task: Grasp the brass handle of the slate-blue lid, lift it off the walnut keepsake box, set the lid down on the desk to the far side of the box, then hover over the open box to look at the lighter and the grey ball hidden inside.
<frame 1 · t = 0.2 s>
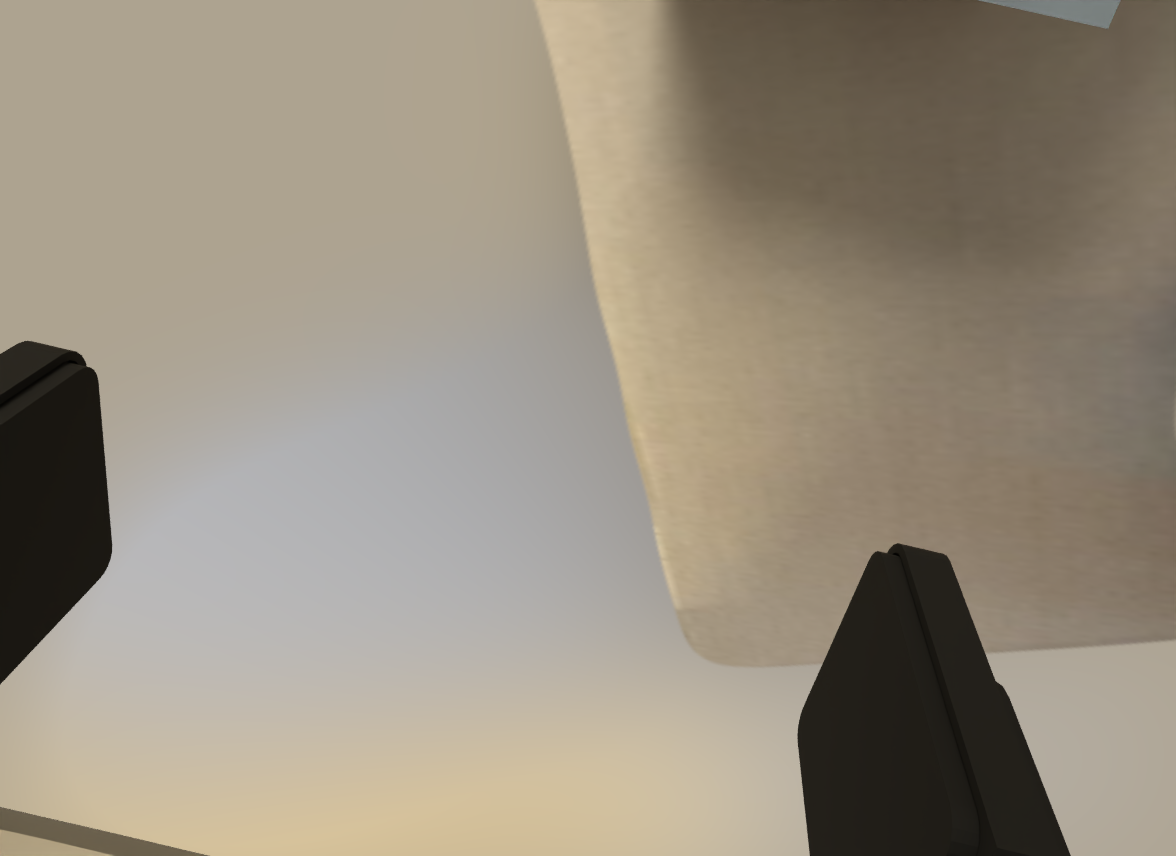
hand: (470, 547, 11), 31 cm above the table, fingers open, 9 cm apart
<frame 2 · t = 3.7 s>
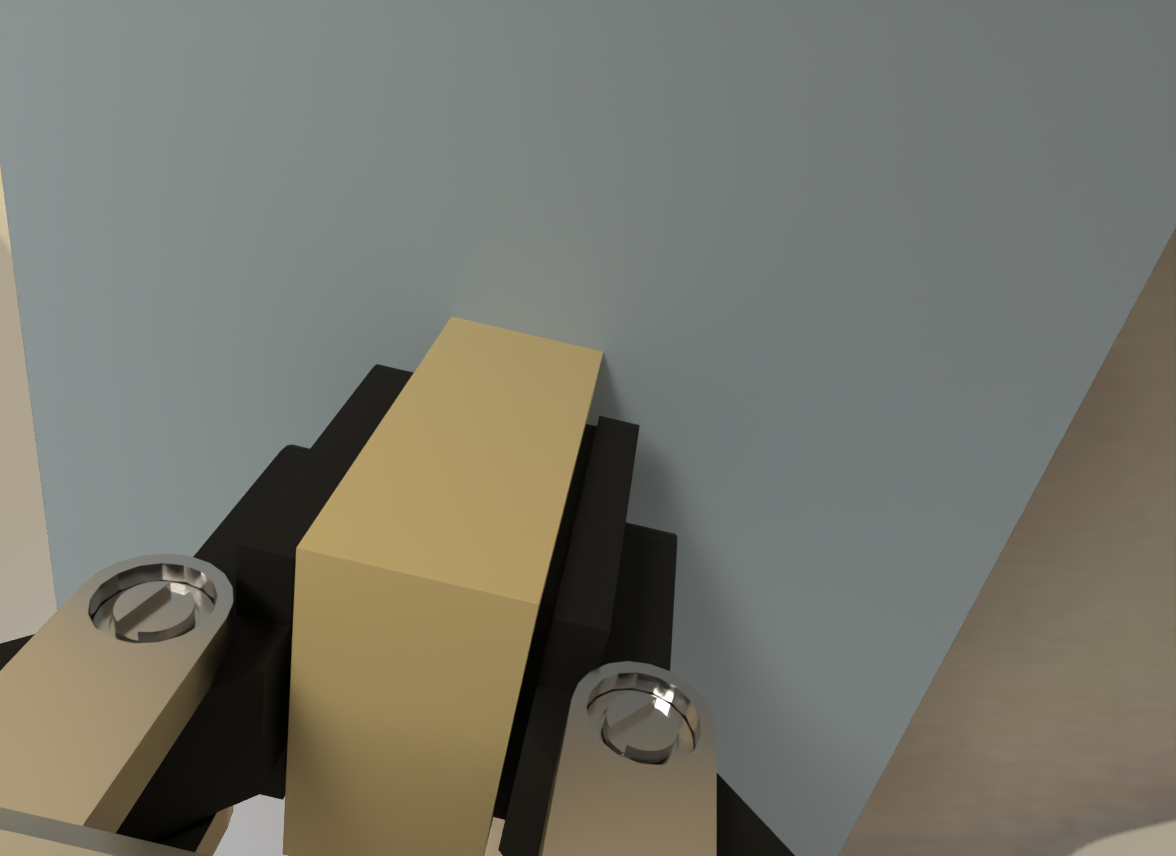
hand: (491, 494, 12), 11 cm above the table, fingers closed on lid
lid: (517, 428, 13), point 10 cm above the table, touching gripper
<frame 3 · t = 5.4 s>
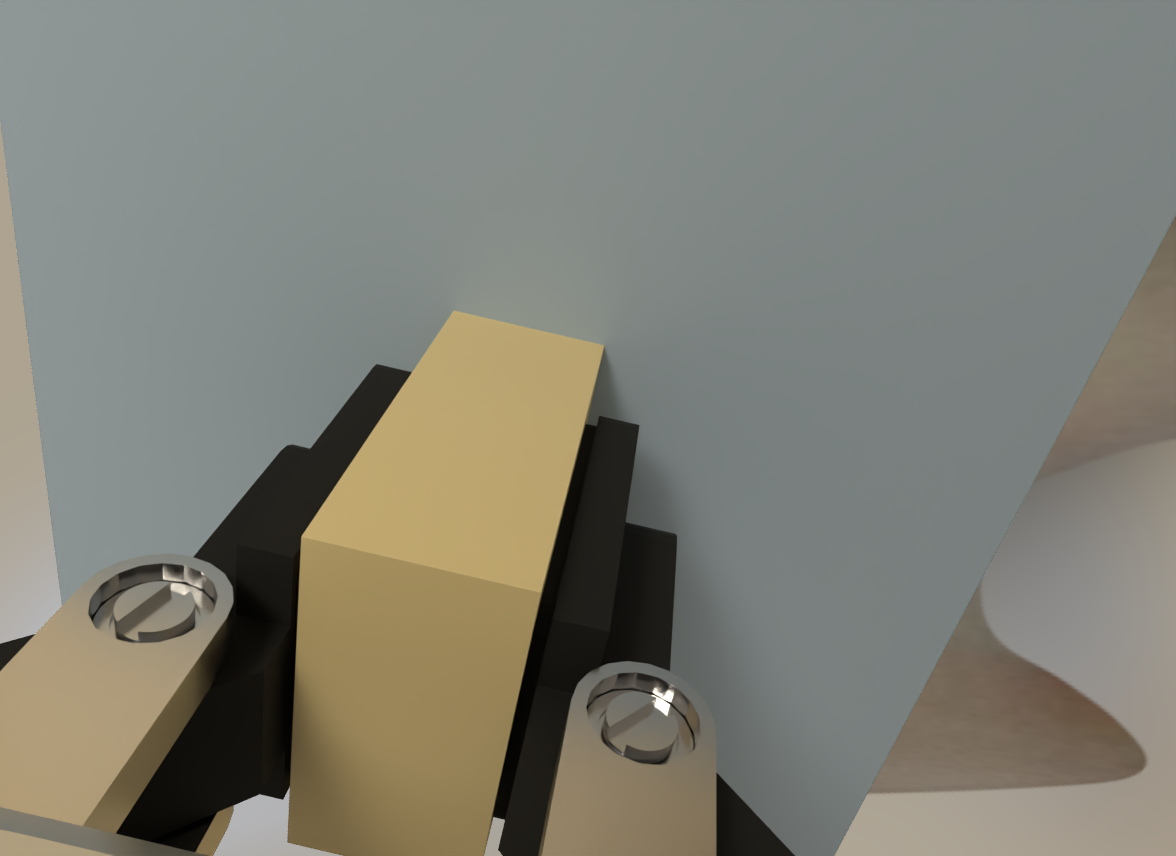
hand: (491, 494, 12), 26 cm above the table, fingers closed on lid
lid: (519, 422, 14), point 24 cm above the table, touching gripper
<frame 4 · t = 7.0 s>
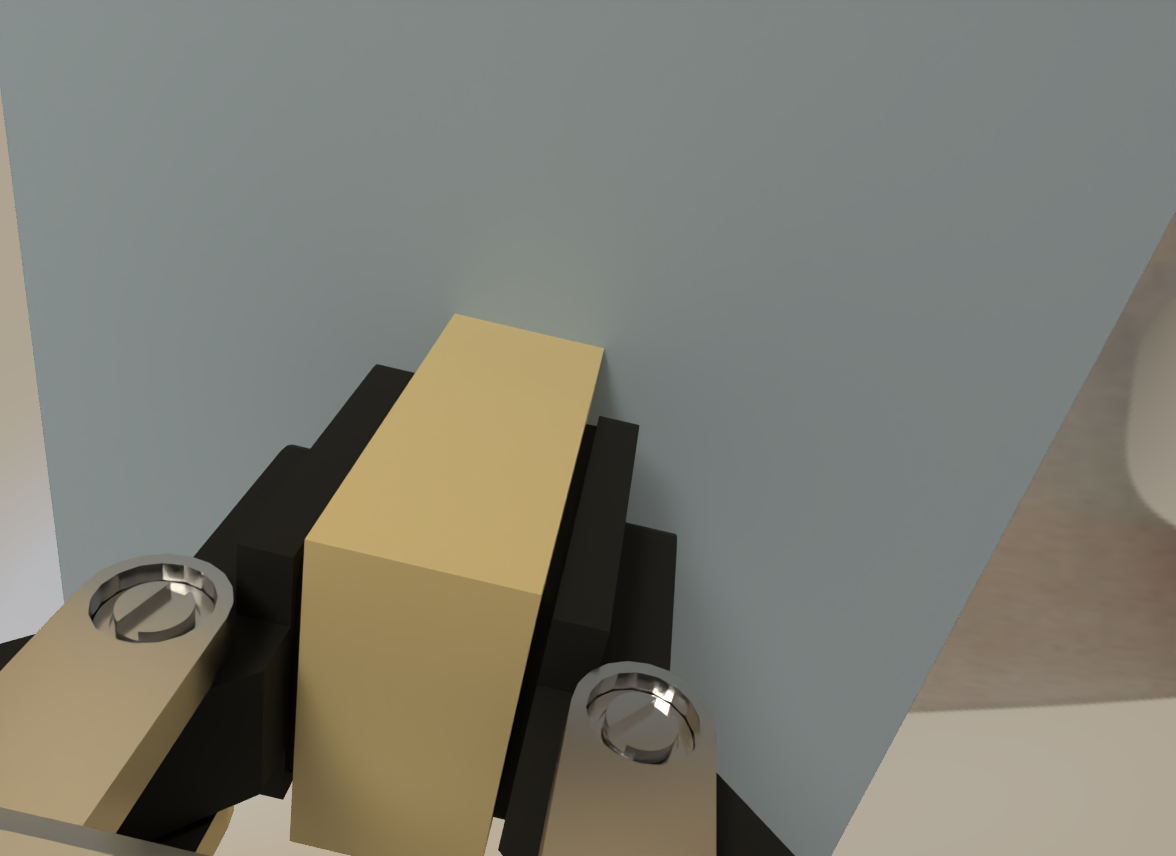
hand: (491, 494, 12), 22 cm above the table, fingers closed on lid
lid: (519, 424, 14), point 20 cm above the table, touching gripper
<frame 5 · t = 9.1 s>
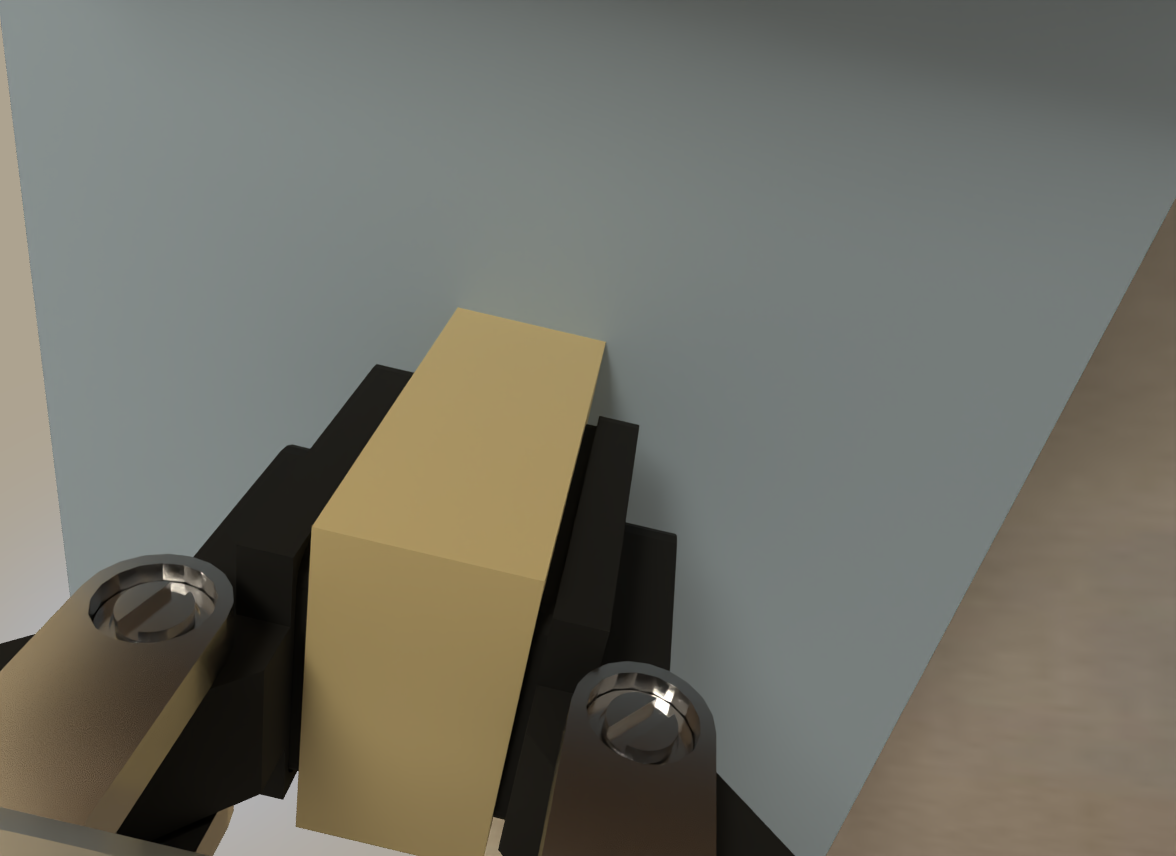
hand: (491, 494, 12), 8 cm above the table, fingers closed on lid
lid: (521, 418, 14), point 6 cm above the table, touching gripper
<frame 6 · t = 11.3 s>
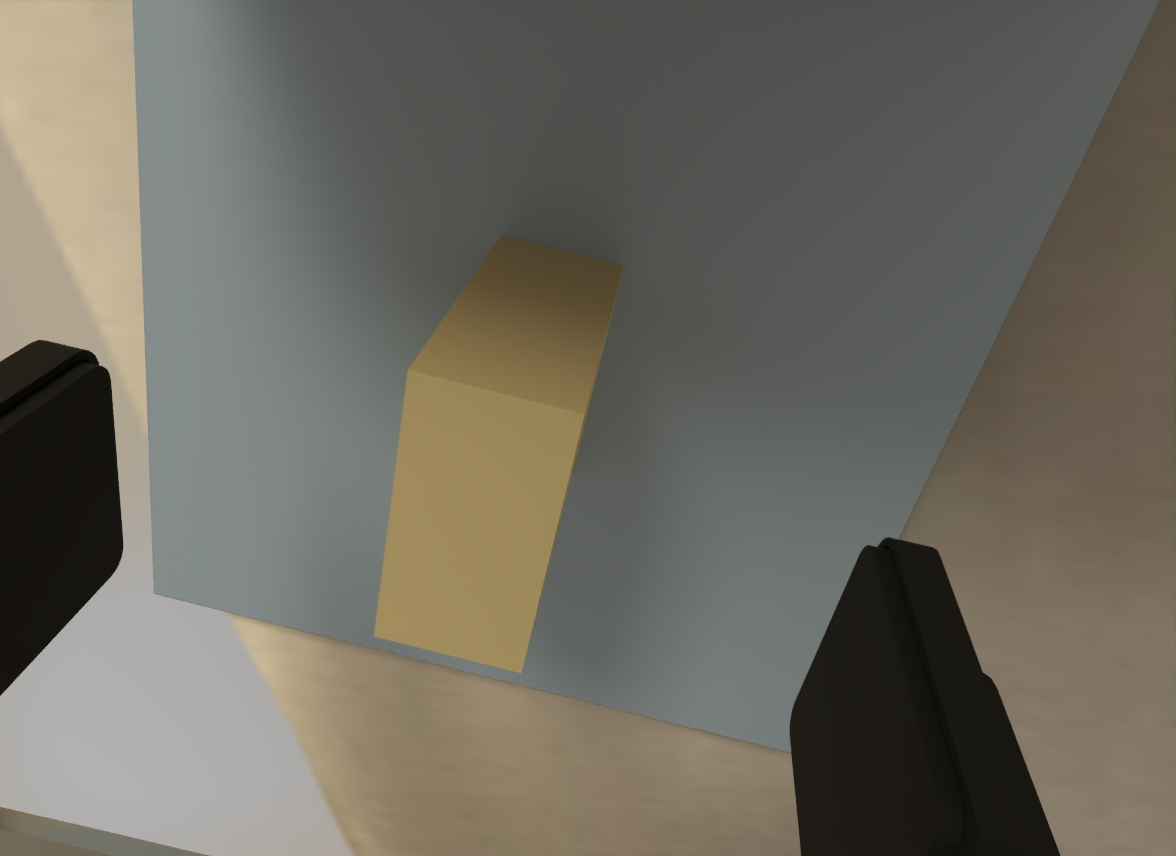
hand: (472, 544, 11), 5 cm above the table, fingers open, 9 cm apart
lid: (548, 339, 16), on the table
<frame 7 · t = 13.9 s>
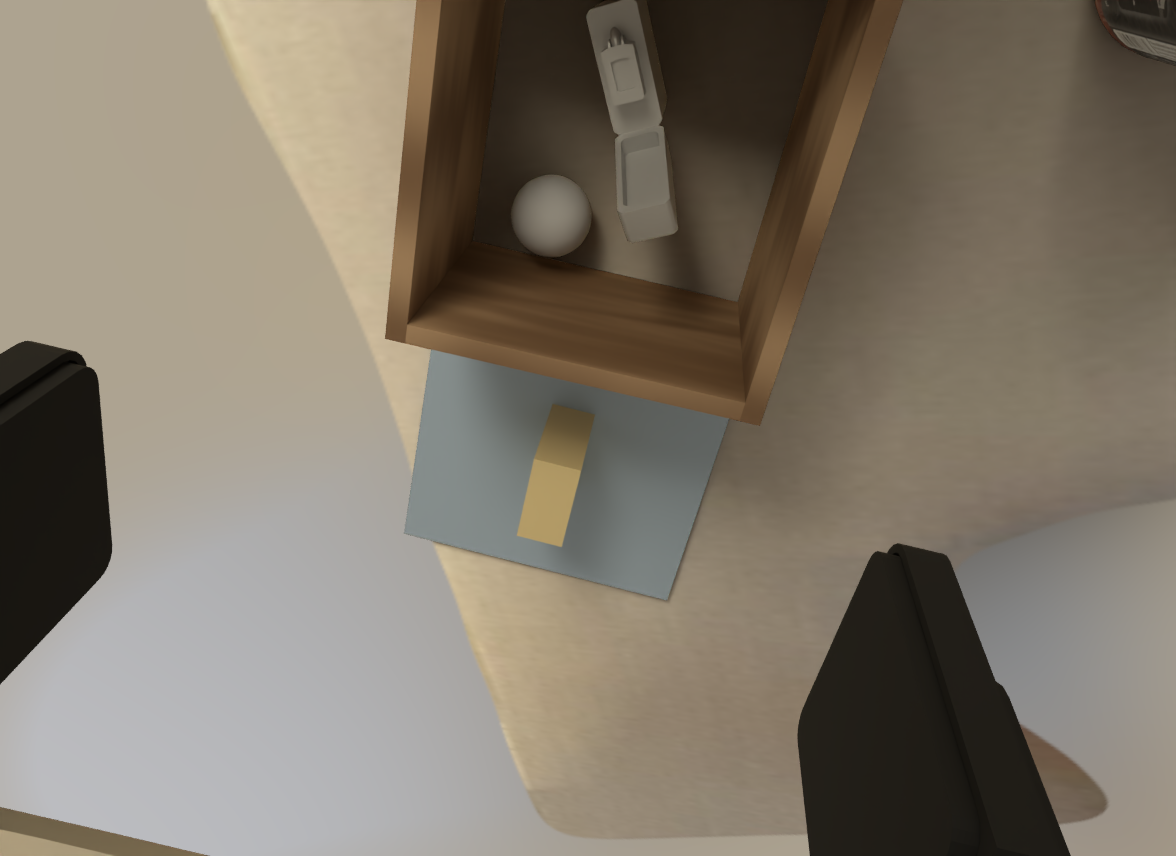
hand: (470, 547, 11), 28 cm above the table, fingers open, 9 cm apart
lighter: (643, 93, 35), resting in keepsake box
grey ball: (557, 205, 37), resting in keepsake box
keepsake box: (637, 121, 35), on the table
lid: (567, 435, 43), on the table
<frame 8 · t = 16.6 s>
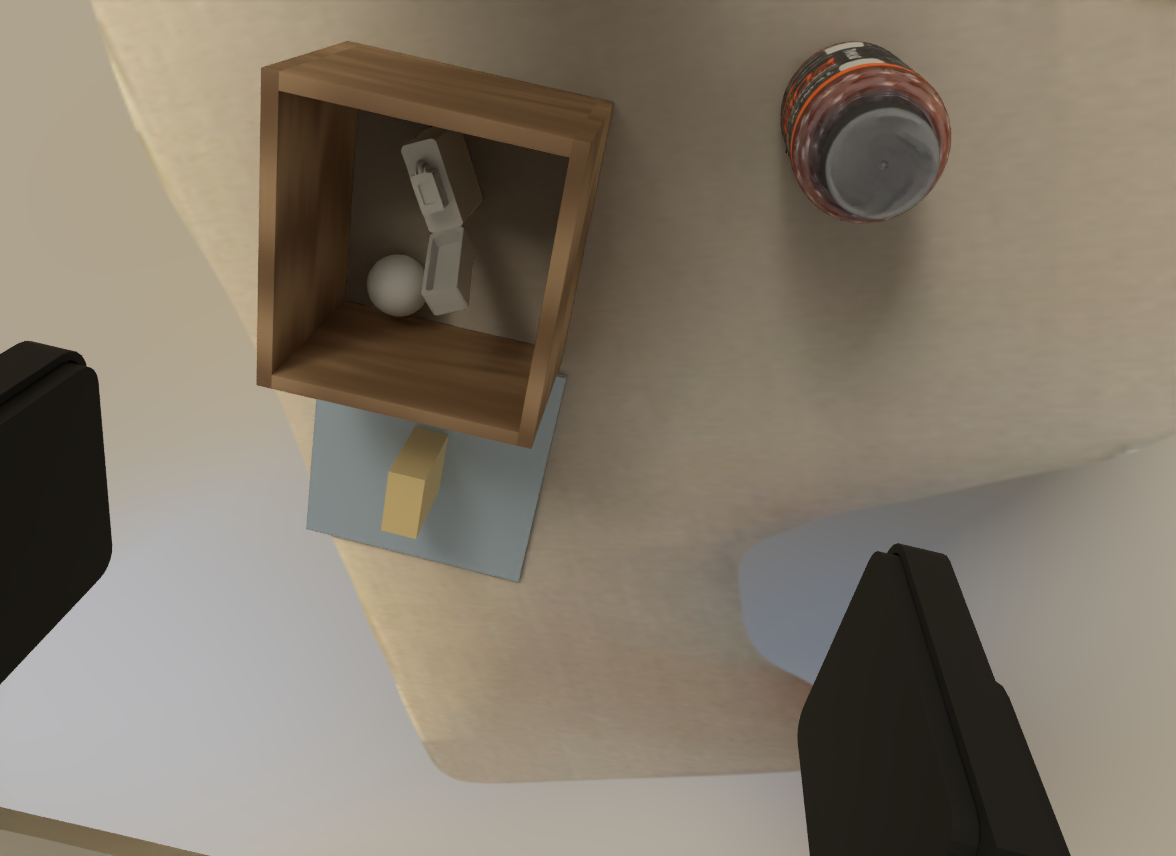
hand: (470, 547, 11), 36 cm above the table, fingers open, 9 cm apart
lighter: (465, 193, 46), resting in keepsake box
supplement bottle: (843, 108, 42), on the table
grey ball: (407, 275, 48), resting in keepsake box
keepsake box: (462, 213, 46), on the table
lid: (431, 450, 54), on the table
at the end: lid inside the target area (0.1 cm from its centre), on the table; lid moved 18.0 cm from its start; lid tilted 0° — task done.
